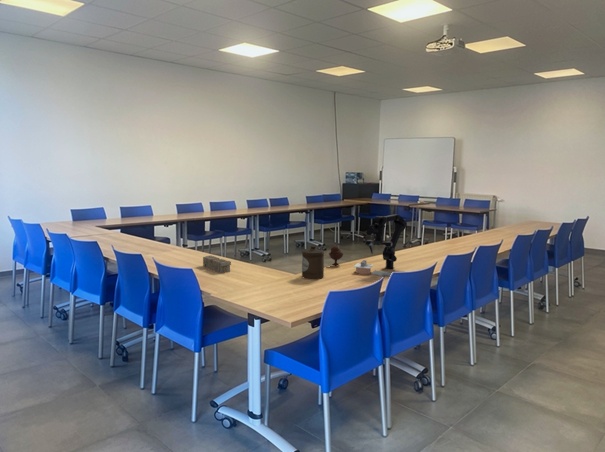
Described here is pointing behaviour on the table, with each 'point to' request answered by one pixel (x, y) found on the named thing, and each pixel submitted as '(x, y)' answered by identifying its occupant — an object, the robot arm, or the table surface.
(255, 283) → the table surface
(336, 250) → the brown egg chair
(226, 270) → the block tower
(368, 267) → the lid
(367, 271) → the bowl
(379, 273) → the mat
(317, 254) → the wooden container
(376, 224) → the robot arm
